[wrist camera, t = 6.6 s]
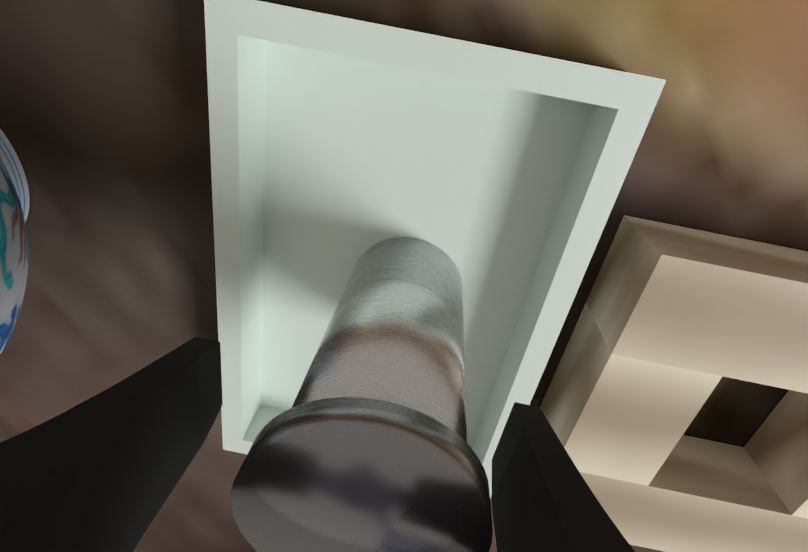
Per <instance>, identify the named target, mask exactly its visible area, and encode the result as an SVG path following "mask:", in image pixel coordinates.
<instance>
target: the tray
mask: <svg viewBox="0 0 808 552" xmlns="http://www.w3.org/2000/svg"><path fill="white" fill-rule="evenodd" d="M204 12H205V35H206V59H207V82H208V106H209V129H210V153H211V177H212V200H213V224H214V247H215V271H216V294H217V318H218V342H220V350H221V376H222V402H223V404H222V406H221V412H222V436H223V450H228V451H233V452H238V453H243V454H248V452H249V450H250V448H251V446H252V444H253V442H254V440H255V438H256V437H257V435H258V434H259V432H260V431H261V430H262V429H263V427H264V426H265V425H266V424H267V423H269V422H270V421H271V420H272V419H273V418H274V417H276V416H278V415H279V414H281V413H283V412H284V411H286V410H288V409H291V408H292V406H293V403H294V401H295V399H296V397H297V394H298V392H299V390H300V388H301V385H302V383H303V381H304V379H305V376H306V374H307V372H308V370H309V368H310V365H311V363H312V361H313V359H314V356H315V354H316V352H317V350H318V347H319V345H320V343H321V341H322V338H323V336H324V334H325V332H326V329H327V327H328V325H329V323H330V320H331V318H332V316H333V314H334V311H335V309H336V307H337V305H338V302H339V300H340V298H341V296H342V294H343V291H344V289H345V287H346V285H347V282H348V280H349V278H350V276H351V273H352V271H353V269H354V267H355V265H356V263H357V261H358V259H359V258H360V257H361V255H362V254H363V253H364V252H365V251H366V250H368V249H369V248H370V247H372V246H373V245H375V244H377V243H379V242H381V241H384V240H387V239H391V238H398V237H409V238H416V239H420V240H424V241H427V242H429V243H431V244H433V245H435V246H437V247H438V248H440V249H441V250H443V251H444V252H445V253H446V254H447V255H448V256H449V257H450V258H451V259H452V260H453V262H454V263H455V265H456V266H457V268H458V270H459V273H460V276H461V279H462V286H463V319H464V355H465V391H466V426H467V444H468V445H469V446H470V447H471V449H472V450H473V451H474V452H475V454H476V455H477V456H478V458H479V460H480V462H481V463H482V465H483V467H484V469H485V472H486V475H487V478H488V484H489V492H490V498H491V495H492V458H493V455H494V453H495V450H496V448H497V445H498V442H499V440H500V437H501V435H502V432H503V430H504V427H505V425H506V422H507V420H508V417H509V415H510V412H511V410H512V407H513V405H514V402H517V403H522V404H526V405H530V403H531V400H532V398H533V396H534V393H535V391H536V388H537V386H538V384H539V381H540V379H541V377H542V374H543V372H544V369H545V367H546V365H547V362H548V360H549V358H550V355H551V353H552V350H553V348H554V346H555V343H556V341H557V339H558V336H559V334H560V331H561V329H562V327H563V324H564V322H565V320H566V317H567V315H568V312H569V310H570V308H571V305H572V303H573V301H574V298H575V296H576V293H577V291H578V289H579V286H580V284H581V282H582V279H583V277H584V274H585V272H586V270H587V267H588V265H589V263H590V260H591V258H592V255H593V253H594V251H595V248H596V246H597V244H598V241H599V239H600V236H601V234H602V232H603V229H604V227H605V225H606V222H607V220H608V217H609V215H610V213H611V210H612V208H613V206H614V203H615V201H616V198H617V196H618V194H619V191H620V189H621V187H622V184H623V182H624V179H625V177H626V175H627V172H628V170H629V168H630V165H631V163H632V161H633V158H634V156H635V153H636V151H637V149H638V146H639V144H640V142H641V139H642V137H643V134H644V132H645V130H646V127H647V125H648V123H649V120H650V118H651V115H652V113H653V111H654V108H655V106H656V104H657V101H658V99H659V96H660V94H661V92H662V89H663V87H664V85H665V82H666V80H664V79H659V78H654V77H649V76H643V75H638V74H633V73H628V72H623V71H618V70H613V69H607V68H602V67H597V66H592V65H587V64H582V63H577V62H571V61H566V60H561V59H556V58H551V57H546V56H541V55H536V54H530V53H525V52H520V51H515V50H510V49H505V48H500V47H494V46H489V45H484V44H479V43H474V42H469V41H464V40H458V39H453V38H448V37H443V36H438V35H433V34H428V33H423V32H417V31H412V30H407V29H402V28H397V27H392V26H387V25H381V24H376V23H371V22H366V21H361V20H356V19H351V18H345V17H340V16H335V15H330V14H325V13H320V12H315V11H310V10H304V9H299V8H294V7H289V6H284V5H279V4H274V3H268V2H263V1H258V0H204Z"/></svg>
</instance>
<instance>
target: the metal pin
mask: <svg viewBox="0 0 808 552" xmlns="http://www.w3.org/2000/svg"><path fill="white" fill-rule="evenodd" d="M231 508H232V513H233V516H234V519H235V522H236V524H237V526H238V528H239V530H240V531H241V533H242V535H243V536H244V537H245V539H246V540H247V541H248V543H249V544H250V545H251V546H252V547H253V548H254V549H255V550H256V551H257V552H489V549H490V546H491V543H492V519H491V505H490V492H489V484H488V478H487V475H486V472H485V469H484V467H483V465H482V463H481V462H480V460H479V458H478V456H477V455H476V454H475V452H474V451H473V450H472V449H471V447H470V446H469V445H468V444H467V426H466V391H465V355H464V319H463V286H462V279H461V276H460V273H459V270H458V268H457V266H456V265H455V263H454V262H453V260H452V259H451V258H450V257H449V256H448V255H447V254H446V253H445V252H444V251H443V250H441V249H440V248H438V247H437V246H435V245H433V244H431V243H429V242H427V241H424V240H420V239H416V238H409V237H398V238H391V239H387V240H384V241H381V242H379V243H377V244H375V245H373V246H372V247H370V248H369V249H368V250H366V251H365V252H364V253H363V254H362V255H361V257H360V258H359V259H358V261H357V263H356V265H355V267H354V269H353V271H352V273H351V276H350V278H349V280H348V282H347V285H346V287H345V289H344V291H343V294H342V296H341V298H340V300H339V302H338V305H337V307H336V309H335V311H334V314H333V316H332V318H331V320H330V323H329V325H328V327H327V329H326V332H325V334H324V336H323V338H322V341H321V343H320V345H319V347H318V350H317V352H316V354H315V356H314V359H313V361H312V363H311V365H310V368H309V370H308V372H307V374H306V376H305V379H304V381H303V383H302V385H301V388H300V390H299V392H298V394H297V397H296V399H295V401H294V403H293V406H292V408H291V409H288V410H286V411H284V412H283V413H281V414H279V415H278V416H276V417H274V418H273V419H272V420H271V421H270V422H269V423H267V424H266V425H265V426H264V427H263V429H262V430H261V431H260V432H259V434H258V435H257V437H256V438H255V440H254V442H253V444H252V446H251V448H250V450H249V452H248V454H247V456H246V458H245V460H244V462H243V464H242V466H241V468H240V470H239V472H238V474H237V476H236V478H235V480H234V483H233V486H232V490H231Z"/></svg>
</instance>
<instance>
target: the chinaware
mask: <svg viewBox="0 0 808 552" xmlns="http://www.w3.org/2000/svg"><path fill="white" fill-rule="evenodd" d="M29 203H30V199H29V189H28V183H27V179H26V176H25V173H24V170H23V167H22V165H21V162H20V160H19V158H18V156H17V154H16V152H15V150H14V148H13V147H12V145H11V143H10V142H9V140H8V139H7V137H6V136H5V134H4V133H3V131H2V130H1V129H0V354H1V352H2V350H3V349H4V347H5V345H6V343H7V341H8V339H9V337H10V335H11V333H12V330H13V328H14V326H15V323H16V320H17V318H18V315H19V312H20V309H21V305H22V302H23V298H24V293H25V288H26V282H27V274H28V238H27V230H26V224H25V222H26V220H27V217H28V212H29Z"/></svg>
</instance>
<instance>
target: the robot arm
mask: <svg viewBox="0 0 808 552" xmlns="http://www.w3.org/2000/svg"><path fill="white" fill-rule="evenodd" d="M222 404H223V402H222V376H221V350H220V342H217V341H212V340H207V339H202V338H197V337H195V338H193V339H192V340H190V341H188V342H186V343H185V344H183V345H181V346H180V347H178V348H176V349H175V350H173V351H171V352H170V353H168V354H166V355H165V356H163V357H161V358H160V359H158V360H156V361H155V362H153V363H151V364H150V365H148V366H146V367H145V368H143V369H141V370H140V371H138V372H136V373H134V374H133V375H131V376H129V377H128V378H126V379H124V380H122V381H121V382H119V383H117V384H116V385H114V386H112V387H110V388H109V389H107V390H105V391H103V392H101V393H99V394H97V395H96V396H94V397H92V398H90V399H88V400H86V401H84V402H83V403H81V404H79V405H77V406H75V407H73V408H71V409H69V410H68V411H66V412H64V413H62V414H60V415H58V416H56V417H54V418H52V419H50V420H48V421H46V422H44V423H42V424H40V425H38V426H36V427H34V428H32V429H30V430H28V431H25V432H23V433H21V434H19V435H17V436H14V437H12V438H10V439H8V440H6V441H3V442H1V443H0V552H133V550H134V549H135V547H136V545H137V544H138V542H139V541H140V539H141V537H142V536H143V534H144V532H145V531H146V529H147V528H148V526H149V525H150V523H151V522H152V520H153V519H154V517H155V516H156V514H157V513H158V511H159V510H160V508H161V507H162V505H163V504H164V502H165V501H166V499H167V498H168V496H169V495H170V493H171V492H172V490H173V489H174V487H175V485H176V484H177V482H178V481H179V479H180V478H181V476H182V475H183V473H184V472H185V470H186V469H187V467H188V466H189V464H190V463H191V461H192V460H193V458H194V457H195V455H196V453H197V452H198V450H199V449H200V447H201V446H202V444H203V443H204V441H205V439H206V437H207V435H208V433H209V431H210V429H211V427H212V425H213V423H214V421H215V419H216V417H217V415H218V413H219V411H220V408H221V406H222ZM492 508H493V518H494V527H495V536H496V544H497V552H635V551H634V550H633V548H632V547H631V546H630V544H629V543H628V542H627V541H626V539H625V538H624V536H623V535H622V534H621V532H620V531H619V530H618V528H617V527H616V525H615V524H614V523H613V521H612V520H611V518H610V517H609V516H608V514H607V513H606V511H605V510H604V509H603V507H602V506H601V504H600V503H599V501H598V500H597V498H596V497H595V495H594V494H593V492H592V491H591V489H590V488H589V486H588V485H587V483H586V481H585V480H584V478H583V477H582V475H581V474H580V472H579V471H578V469H577V468H576V466H575V464H574V463H573V461H572V460H571V458H570V456H569V455H568V453H567V451H566V450H565V448H564V446H563V445H562V443H561V442H560V440H559V438H558V437H557V435H556V433H555V432H554V430H553V428H552V427H551V425H550V423H549V422H548V420H547V418H546V417H545V415H544V413H543V412H542V410H541V409H540V407H536V406H531V405H526V404H522V403H517V402H514V405H513V407H512V410H511V412H510V415H509V417H508V420H507V422H506V425H505V427H504V430H503V432H502V435H501V437H500V440H499V442H498V445H497V448H496V450H495V453H494V455H493V458H492Z"/></svg>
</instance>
